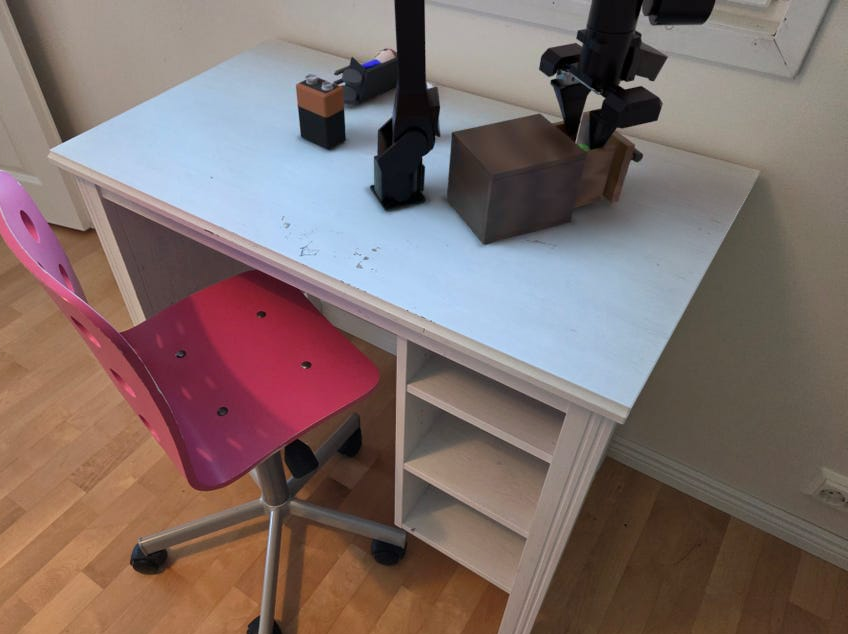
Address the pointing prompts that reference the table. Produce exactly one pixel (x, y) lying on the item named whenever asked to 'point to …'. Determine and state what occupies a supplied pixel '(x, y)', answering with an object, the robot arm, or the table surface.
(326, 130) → the battery
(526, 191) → the cabinet
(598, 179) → the drawer
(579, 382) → the table surface
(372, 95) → the character figurine
